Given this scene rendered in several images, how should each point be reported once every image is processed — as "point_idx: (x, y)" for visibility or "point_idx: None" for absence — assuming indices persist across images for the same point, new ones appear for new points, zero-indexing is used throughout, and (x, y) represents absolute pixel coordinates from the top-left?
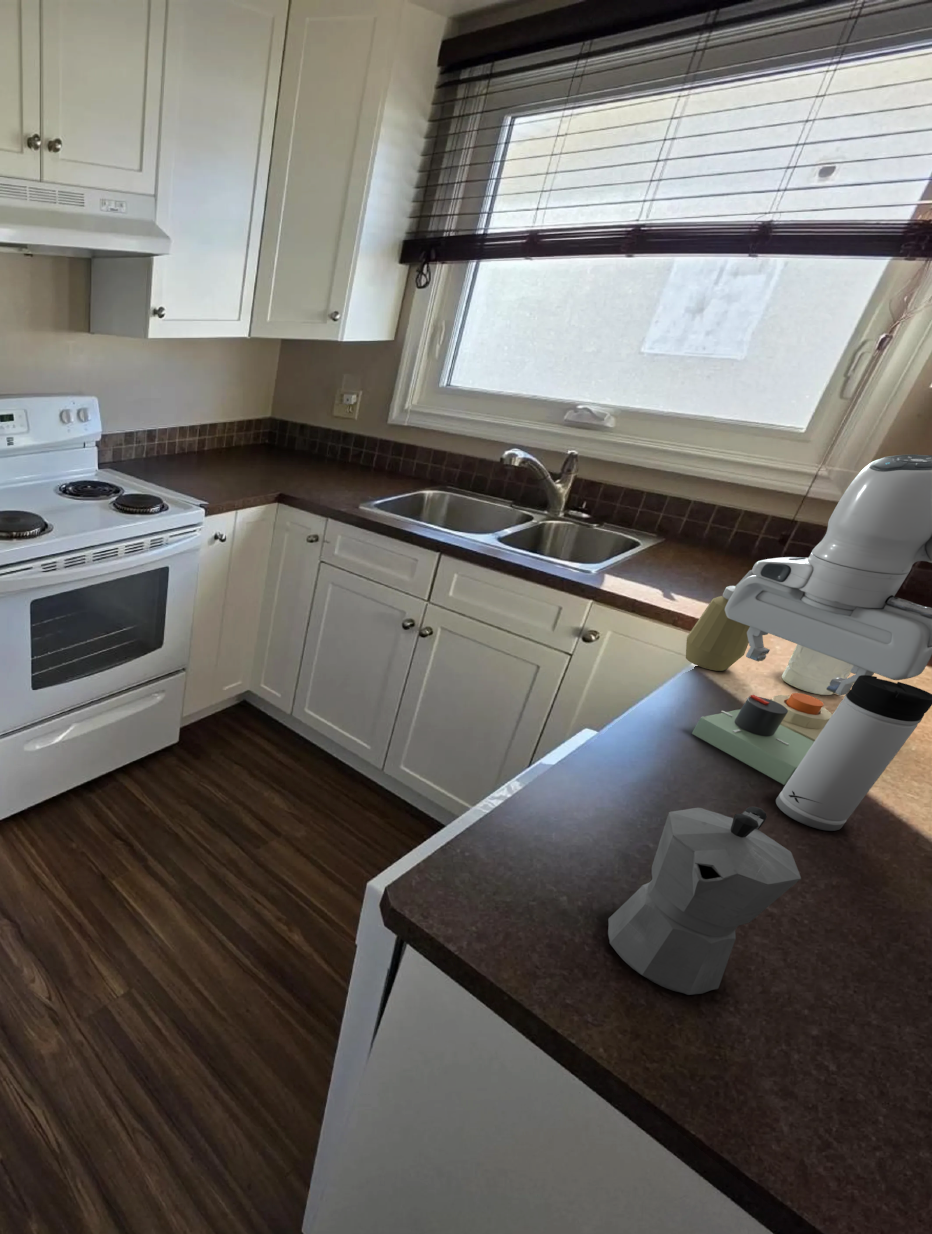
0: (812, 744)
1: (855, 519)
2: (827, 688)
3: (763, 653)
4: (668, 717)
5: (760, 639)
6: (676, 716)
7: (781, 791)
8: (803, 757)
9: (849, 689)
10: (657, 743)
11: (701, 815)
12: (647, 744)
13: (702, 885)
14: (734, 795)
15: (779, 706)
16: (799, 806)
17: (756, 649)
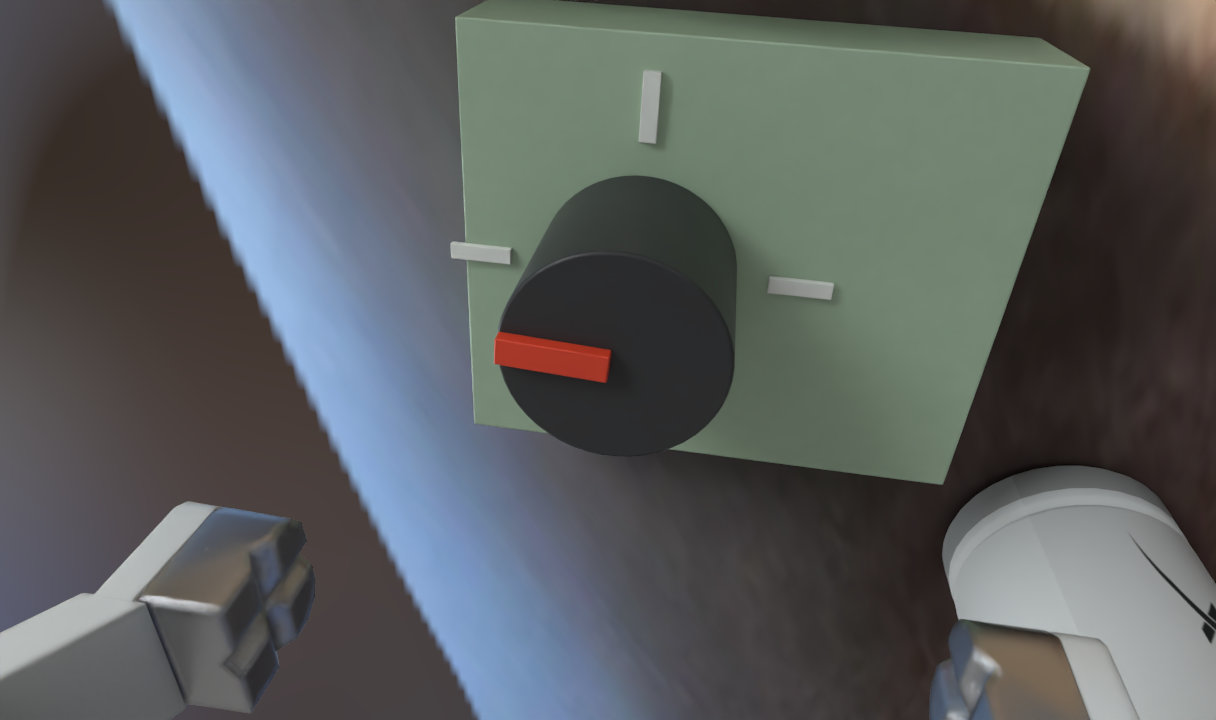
0: (913, 115)
1: None
2: (936, 717)
3: (262, 649)
4: (365, 316)
5: (46, 701)
6: (363, 267)
7: (951, 584)
8: (934, 351)
9: (1118, 685)
10: (519, 554)
11: None
12: (513, 589)
13: None
14: (840, 632)
15: (660, 306)
16: None
17: (203, 701)
